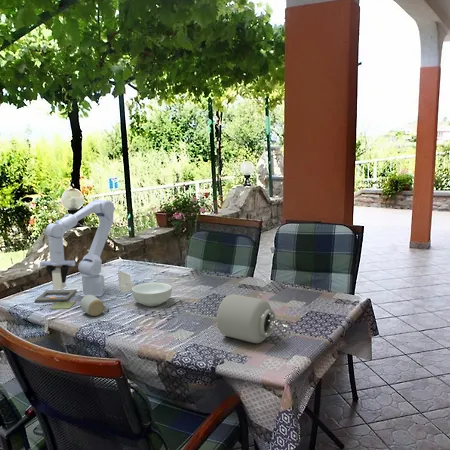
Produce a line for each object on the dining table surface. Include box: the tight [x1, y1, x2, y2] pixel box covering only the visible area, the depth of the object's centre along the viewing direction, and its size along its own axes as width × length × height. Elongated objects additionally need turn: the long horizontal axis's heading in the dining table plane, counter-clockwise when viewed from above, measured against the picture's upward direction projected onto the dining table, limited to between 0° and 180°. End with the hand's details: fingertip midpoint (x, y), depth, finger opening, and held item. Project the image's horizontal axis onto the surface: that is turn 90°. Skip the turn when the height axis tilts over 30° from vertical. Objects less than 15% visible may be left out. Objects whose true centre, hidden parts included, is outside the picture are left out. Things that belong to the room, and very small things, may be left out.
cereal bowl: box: [131, 282, 173, 307], centre depth 198 cm, size 17×17×7 cm
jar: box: [216, 293, 288, 344], centre depth 157 cm, size 19×15×25 cm
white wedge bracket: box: [117, 270, 135, 294], centre depth 216 cm, size 4×10×9 cm, turn 146°
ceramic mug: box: [79, 295, 110, 317], centre depth 187 cm, size 10×8×7 cm
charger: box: [51, 267, 67, 290], centre depth 199 cm, size 4×5×8 cm
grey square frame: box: [34, 289, 78, 304], centre depth 208 cm, size 14×14×2 cm
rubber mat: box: [49, 301, 76, 310], centre depth 197 cm, size 8×8×1 cm
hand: (59, 282), depth 199 cm, fingers closed on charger, 4 cm apart
